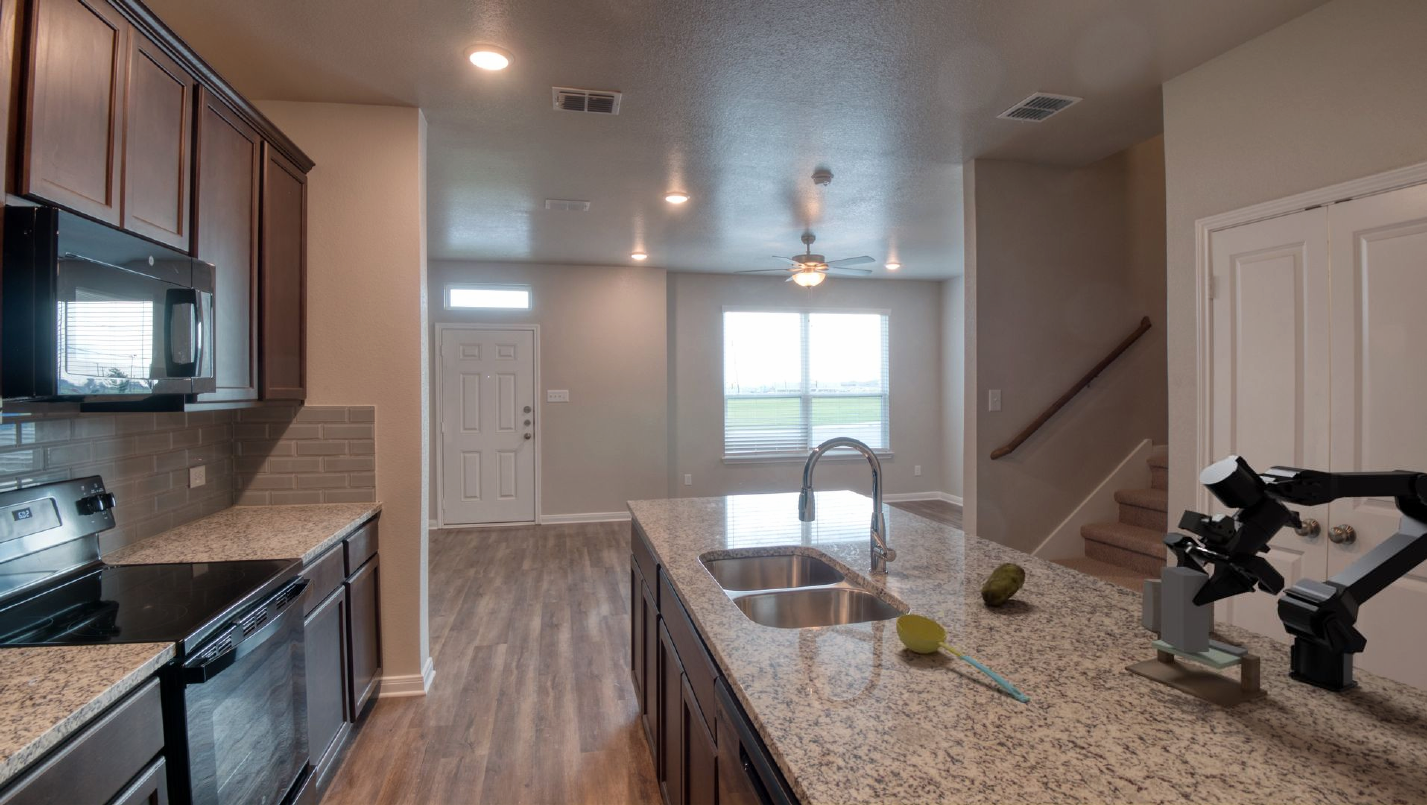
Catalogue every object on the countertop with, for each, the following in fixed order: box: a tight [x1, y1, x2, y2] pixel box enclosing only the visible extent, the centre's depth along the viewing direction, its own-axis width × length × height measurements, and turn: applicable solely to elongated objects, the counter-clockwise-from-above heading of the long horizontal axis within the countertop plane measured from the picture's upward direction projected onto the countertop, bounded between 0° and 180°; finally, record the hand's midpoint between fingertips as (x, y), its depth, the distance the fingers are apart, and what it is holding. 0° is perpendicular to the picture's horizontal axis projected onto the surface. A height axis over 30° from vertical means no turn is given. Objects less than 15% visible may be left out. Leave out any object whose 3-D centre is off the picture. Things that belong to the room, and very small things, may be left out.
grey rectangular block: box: [1160, 566, 1210, 652], centre depth 105 cm, size 4×5×12 cm
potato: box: [980, 562, 1026, 606], centre depth 145 cm, size 8×13×8 cm, turn 112°
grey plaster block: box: [1140, 578, 1215, 633], centre depth 128 cm, size 12×4×10 cm, turn 89°
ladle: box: [895, 613, 1030, 703], centre depth 110 cm, size 9×26×6 cm, turn 26°
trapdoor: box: [1151, 638, 1249, 670], centre depth 106 cm, size 10×9×2 cm
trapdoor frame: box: [1124, 629, 1268, 709], centre depth 105 cm, size 15×11×6 cm
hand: (1182, 598), depth 105 cm, fingers closed on grey rectangular block, 5 cm apart
